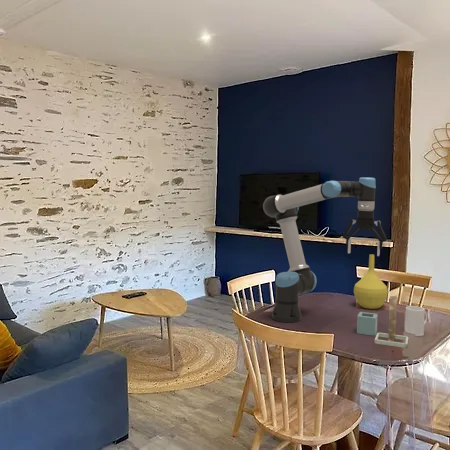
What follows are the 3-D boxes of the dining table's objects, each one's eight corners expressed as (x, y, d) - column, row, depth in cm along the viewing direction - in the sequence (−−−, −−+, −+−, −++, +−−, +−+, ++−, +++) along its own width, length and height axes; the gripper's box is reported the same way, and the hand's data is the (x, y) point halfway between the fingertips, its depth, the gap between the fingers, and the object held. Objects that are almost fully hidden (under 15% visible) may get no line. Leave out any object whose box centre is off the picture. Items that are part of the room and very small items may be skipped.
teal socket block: (356, 335, 211) (357, 316, 210) (359, 330, 218) (359, 311, 217) (374, 337, 207) (375, 318, 207) (376, 332, 215) (377, 313, 214)
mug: (420, 329, 221) (422, 304, 220) (433, 334, 213) (435, 309, 211) (400, 331, 217) (401, 306, 216) (412, 337, 209) (414, 311, 208)
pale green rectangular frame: (374, 345, 197) (374, 339, 197) (377, 337, 207) (377, 332, 207) (406, 350, 192) (407, 344, 192) (408, 342, 202) (408, 336, 202)
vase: (347, 303, 267) (348, 252, 264) (374, 301, 272) (375, 251, 270) (365, 312, 249) (367, 257, 247) (394, 309, 255) (396, 256, 252)
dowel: (387, 342, 199) (389, 297, 197) (388, 340, 201) (390, 295, 200) (394, 343, 198) (396, 297, 196) (395, 341, 200) (397, 296, 199)
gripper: (337, 209, 220) (335, 252, 222) (392, 211, 209) (390, 257, 211) (341, 208, 227) (339, 250, 229) (394, 211, 216) (391, 255, 218)
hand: (363, 254), depth 220 cm, fingers open, 13 cm apart
